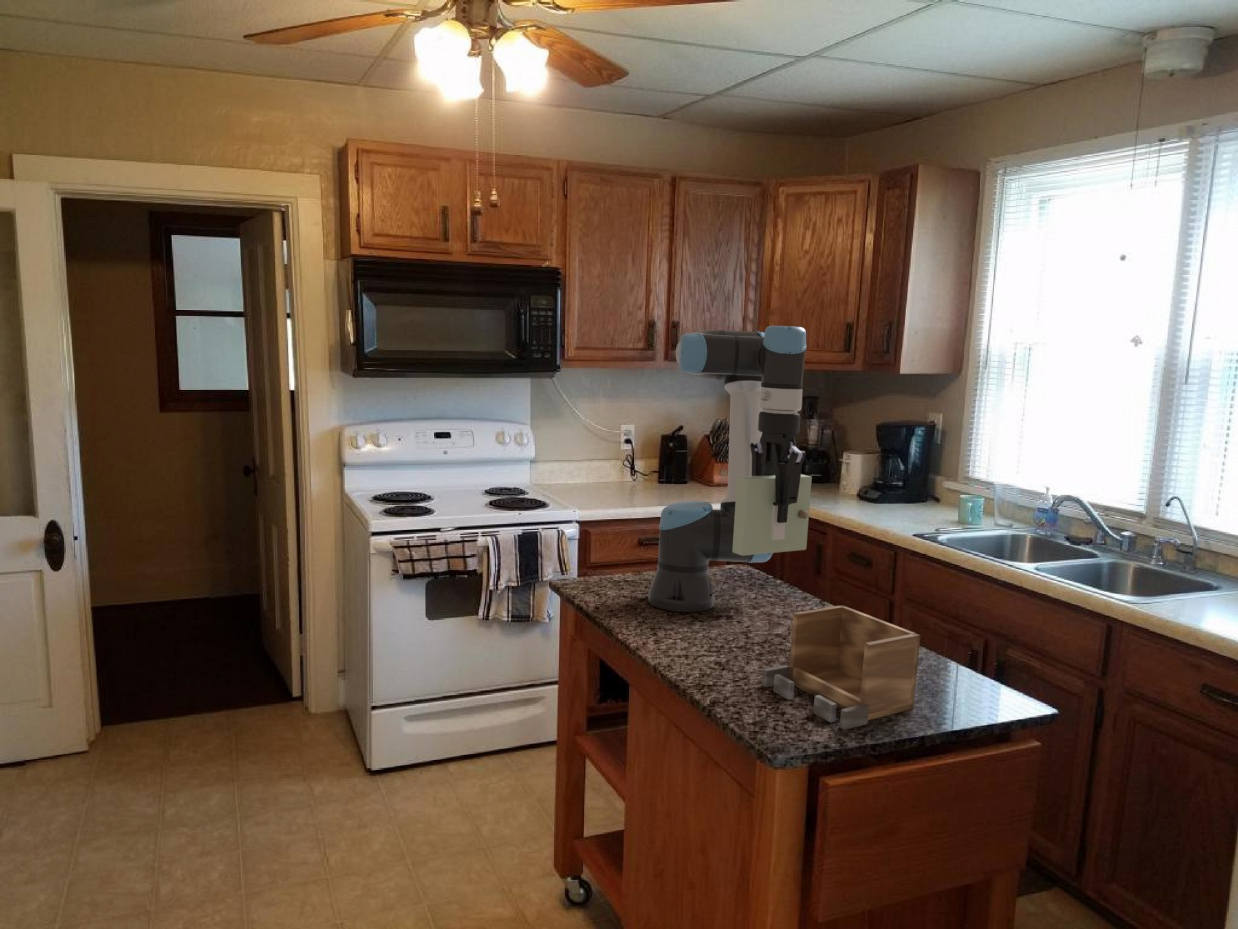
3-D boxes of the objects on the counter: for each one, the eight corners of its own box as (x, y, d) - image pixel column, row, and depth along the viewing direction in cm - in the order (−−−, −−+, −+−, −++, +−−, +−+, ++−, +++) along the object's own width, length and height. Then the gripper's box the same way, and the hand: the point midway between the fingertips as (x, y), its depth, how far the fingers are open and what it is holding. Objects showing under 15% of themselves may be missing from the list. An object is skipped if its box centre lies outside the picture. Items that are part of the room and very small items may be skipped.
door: (746, 557, 160) (751, 480, 158) (732, 551, 164) (737, 476, 162) (810, 551, 167) (816, 477, 165) (795, 546, 171) (801, 474, 169)
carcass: (762, 685, 158) (767, 614, 156) (832, 670, 167) (838, 603, 165) (844, 730, 141) (850, 651, 139) (917, 710, 150) (925, 636, 148)
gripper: (736, 407, 168) (729, 529, 171) (792, 415, 154) (782, 548, 157) (768, 407, 171) (760, 527, 174) (825, 415, 157) (815, 545, 160)
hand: (770, 536), depth 166 cm, fingers closed on door, 3 cm apart
